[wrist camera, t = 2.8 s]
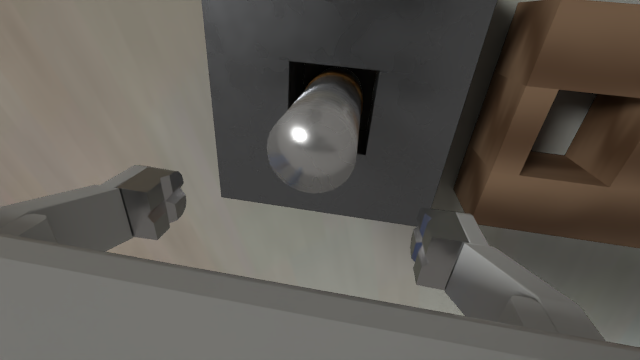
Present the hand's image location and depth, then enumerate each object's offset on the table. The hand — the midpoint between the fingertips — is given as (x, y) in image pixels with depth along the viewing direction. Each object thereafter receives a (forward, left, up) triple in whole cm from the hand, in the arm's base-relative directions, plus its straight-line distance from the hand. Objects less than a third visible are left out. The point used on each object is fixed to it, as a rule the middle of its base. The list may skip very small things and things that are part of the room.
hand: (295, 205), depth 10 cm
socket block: (0, 0, -16) cm, 16 cm away
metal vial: (0, 0, -16) cm, 16 cm away
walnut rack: (0, +20, -16) cm, 25 cm away
